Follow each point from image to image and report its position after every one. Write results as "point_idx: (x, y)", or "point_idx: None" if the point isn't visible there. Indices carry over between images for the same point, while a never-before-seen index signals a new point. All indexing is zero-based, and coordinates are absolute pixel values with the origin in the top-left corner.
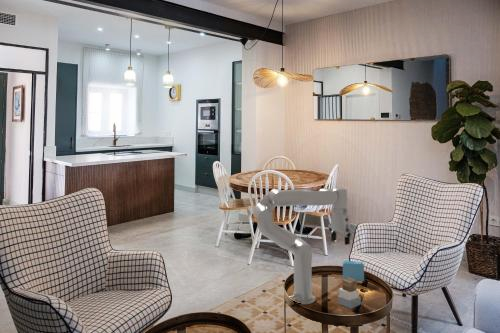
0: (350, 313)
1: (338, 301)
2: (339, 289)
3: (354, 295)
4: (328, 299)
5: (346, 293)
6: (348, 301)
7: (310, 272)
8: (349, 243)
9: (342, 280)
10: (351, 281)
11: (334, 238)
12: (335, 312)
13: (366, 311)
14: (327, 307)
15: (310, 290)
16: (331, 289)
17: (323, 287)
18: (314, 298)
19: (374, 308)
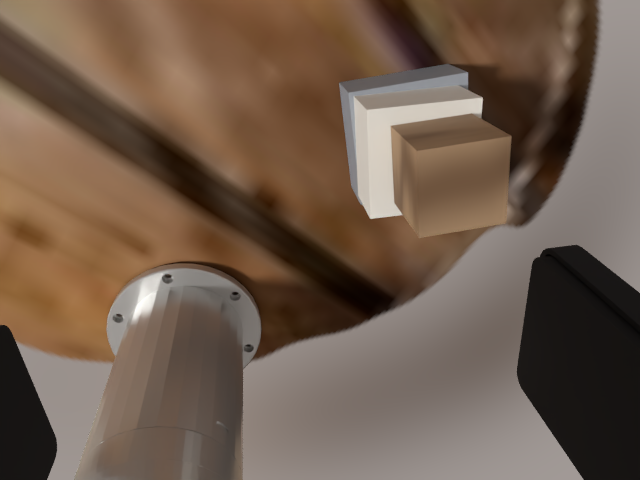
0: None
1: (355, 192)
2: (375, 216)
3: None
4: (263, 199)
5: None
6: None
7: (232, 457)
8: (573, 252)
9: (418, 235)
10: (497, 195)
11: (6, 432)
12: (423, 268)
13: (535, 112)
14: (351, 268)
15: (238, 356)
16: (112, 61)
17: (42, 91)
18: (233, 288)
19: (548, 31)
